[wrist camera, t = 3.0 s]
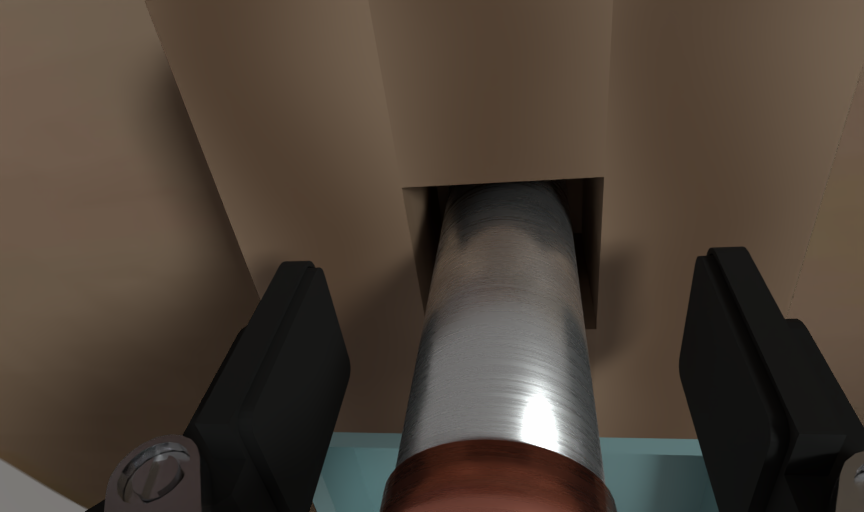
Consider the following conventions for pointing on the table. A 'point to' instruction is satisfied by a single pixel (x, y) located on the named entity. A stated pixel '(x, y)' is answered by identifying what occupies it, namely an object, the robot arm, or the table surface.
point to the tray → (622, 462)
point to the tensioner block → (519, 156)
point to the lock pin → (502, 365)
